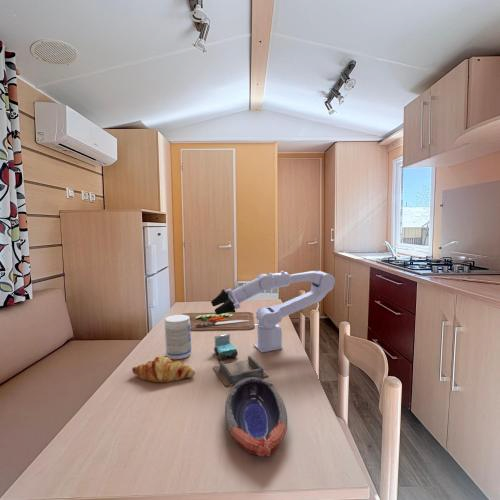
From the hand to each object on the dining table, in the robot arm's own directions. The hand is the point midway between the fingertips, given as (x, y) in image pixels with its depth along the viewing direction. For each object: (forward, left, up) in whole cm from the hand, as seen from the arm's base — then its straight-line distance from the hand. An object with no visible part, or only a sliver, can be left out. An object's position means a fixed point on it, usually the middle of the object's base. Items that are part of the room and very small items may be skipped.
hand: (213, 308), depth 118 cm
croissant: (+21, +11, -18) cm, 30 cm away
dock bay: (-3, +18, -18) cm, 26 cm away
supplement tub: (+13, -4, -18) cm, 23 cm away
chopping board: (-12, -37, -19) cm, 43 cm away
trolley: (-3, +4, -18) cm, 19 cm away
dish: (+2, +44, -18) cm, 48 cm away
